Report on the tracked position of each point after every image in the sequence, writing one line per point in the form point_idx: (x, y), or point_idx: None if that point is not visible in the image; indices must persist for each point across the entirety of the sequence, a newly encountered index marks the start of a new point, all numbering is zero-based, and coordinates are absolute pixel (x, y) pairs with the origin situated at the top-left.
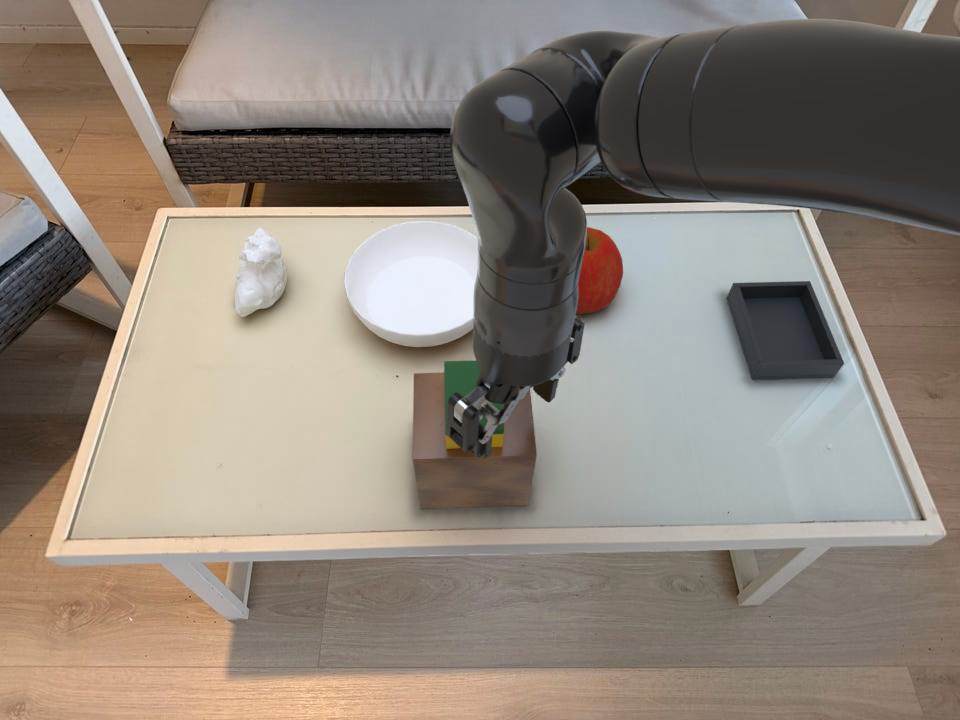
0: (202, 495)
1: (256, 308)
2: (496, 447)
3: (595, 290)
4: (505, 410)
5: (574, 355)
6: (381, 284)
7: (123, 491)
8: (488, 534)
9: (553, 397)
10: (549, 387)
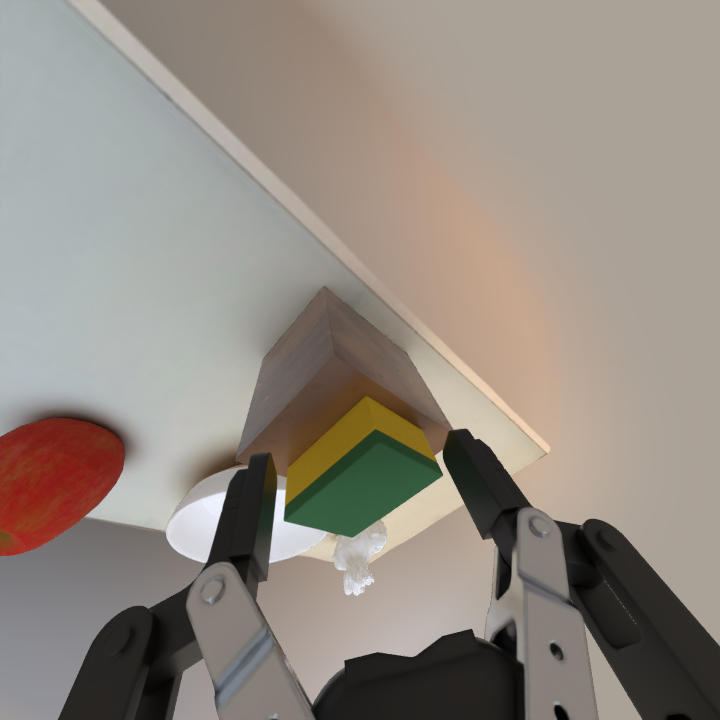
0: (490, 442)
1: (375, 527)
2: (373, 398)
3: (36, 463)
4: (596, 713)
5: (110, 690)
6: (283, 512)
7: (510, 462)
8: (382, 291)
9: (254, 463)
10: (261, 517)
